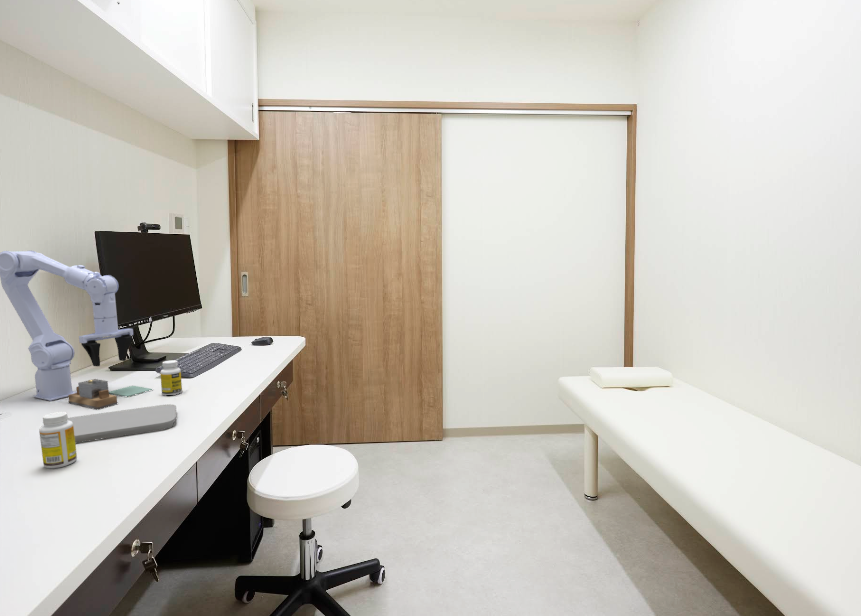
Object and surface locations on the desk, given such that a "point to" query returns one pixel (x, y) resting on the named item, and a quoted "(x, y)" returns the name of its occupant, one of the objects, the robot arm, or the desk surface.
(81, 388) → the lever cap
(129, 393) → the mat
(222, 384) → the desk surface
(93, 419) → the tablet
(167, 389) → the supplement bottle
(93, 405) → the plane body
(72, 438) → the supplement bottle
